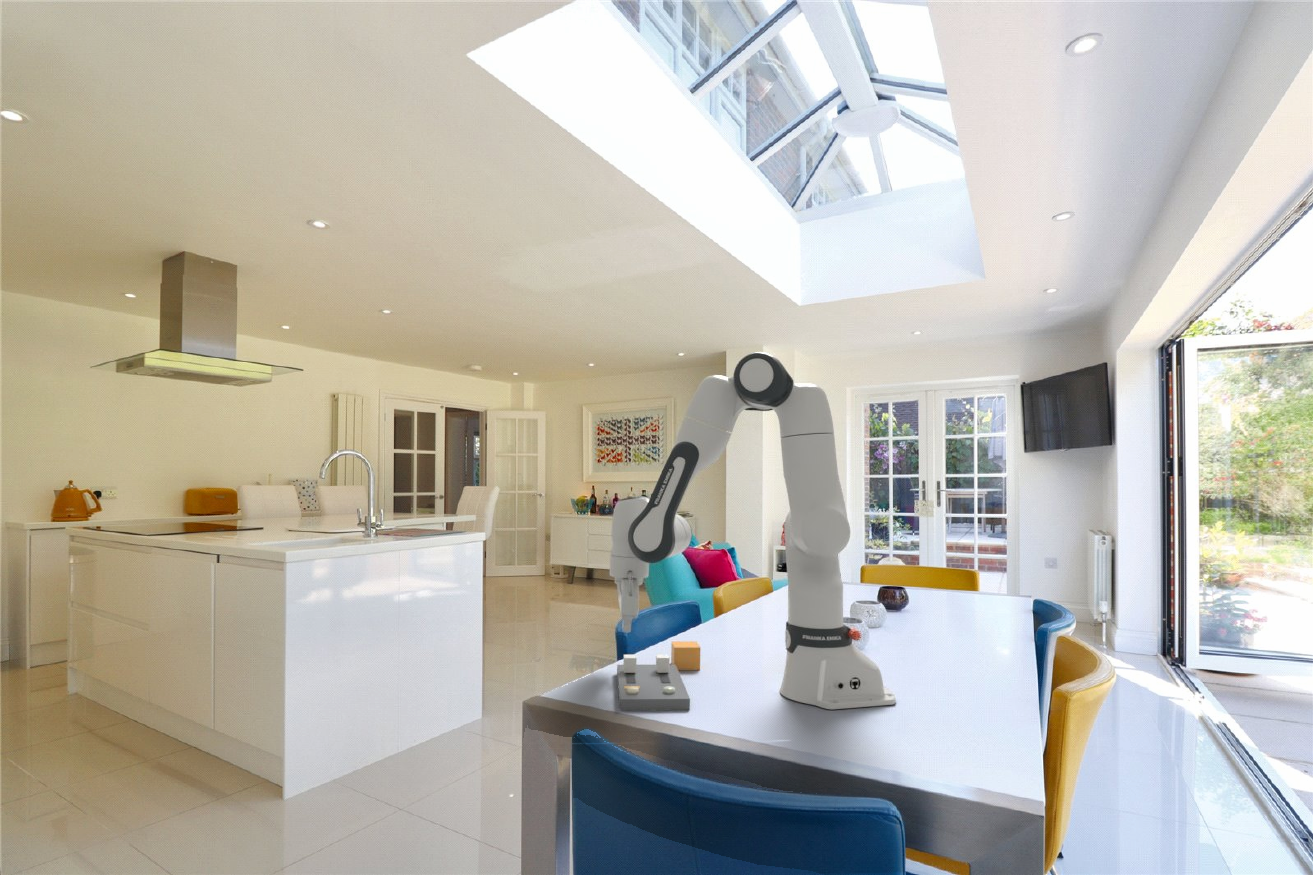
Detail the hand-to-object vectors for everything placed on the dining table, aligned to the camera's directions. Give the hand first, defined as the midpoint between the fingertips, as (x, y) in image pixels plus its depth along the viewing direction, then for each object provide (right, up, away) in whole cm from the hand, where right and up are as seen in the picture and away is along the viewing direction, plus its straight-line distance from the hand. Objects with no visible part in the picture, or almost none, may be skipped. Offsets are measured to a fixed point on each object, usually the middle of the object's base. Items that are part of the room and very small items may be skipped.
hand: (626, 631), depth 146 cm
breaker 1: (+1, -6, -7) cm, 10 cm away
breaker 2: (+8, -7, -6) cm, 12 cm away
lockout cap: (+13, -10, +6) cm, 18 cm away
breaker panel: (+5, -8, -13) cm, 16 cm away
